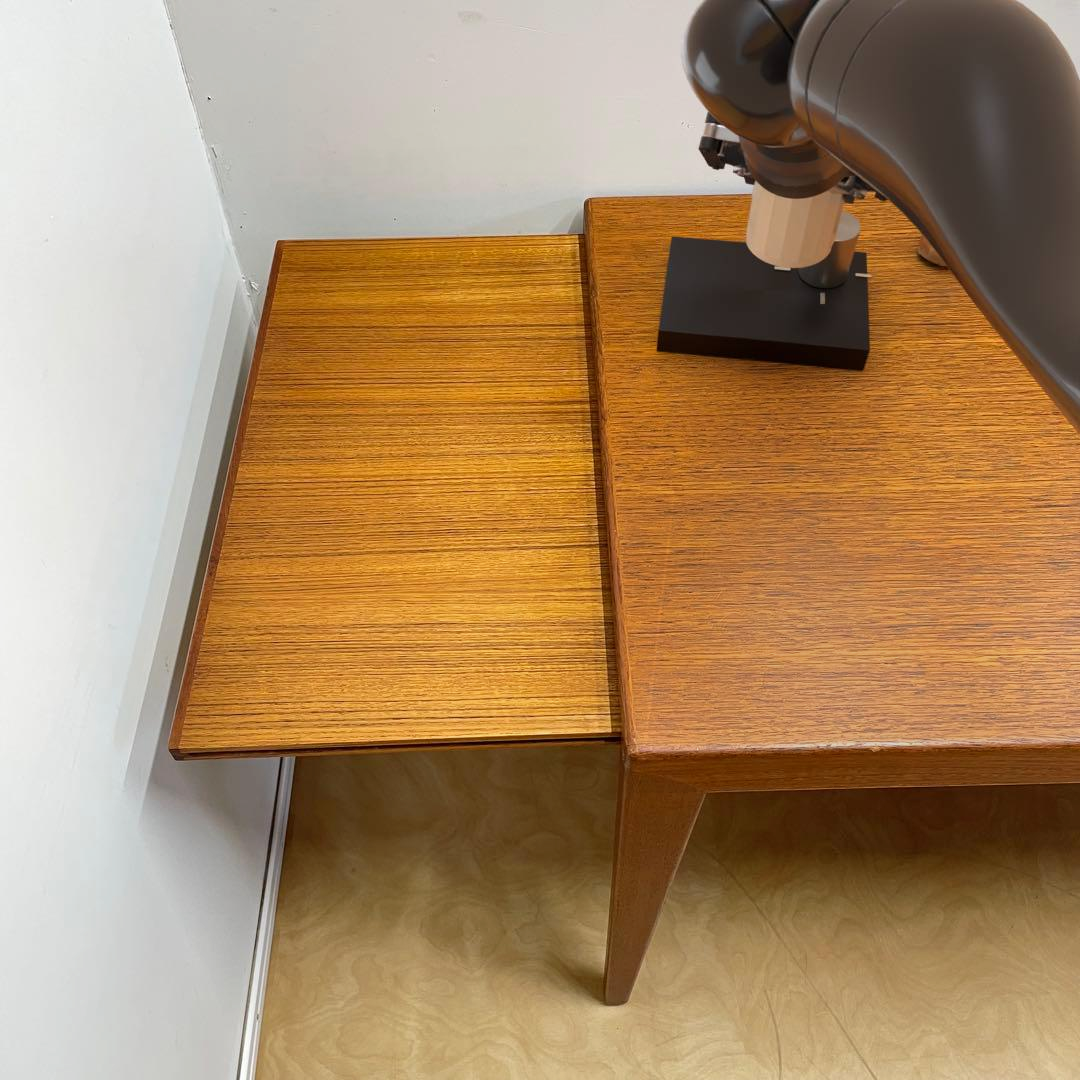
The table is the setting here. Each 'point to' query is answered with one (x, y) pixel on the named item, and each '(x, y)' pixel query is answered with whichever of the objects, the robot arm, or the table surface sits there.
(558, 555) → the table surface
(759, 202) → the cup
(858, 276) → the hob
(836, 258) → the knob
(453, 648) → the table surface
